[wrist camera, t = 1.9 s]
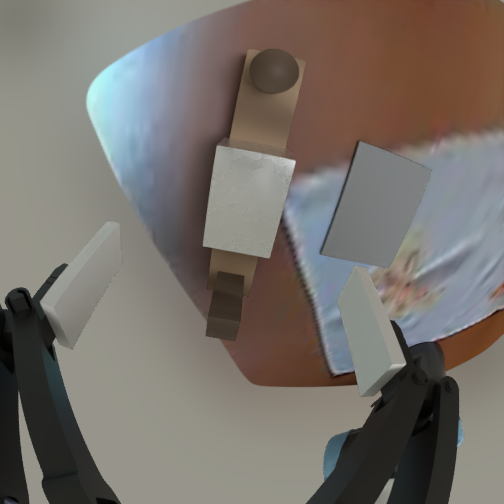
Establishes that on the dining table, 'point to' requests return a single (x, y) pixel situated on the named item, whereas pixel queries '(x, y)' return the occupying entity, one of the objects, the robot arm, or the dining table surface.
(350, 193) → the grey mat
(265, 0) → the dining table surface
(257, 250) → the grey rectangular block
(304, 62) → the plane body
